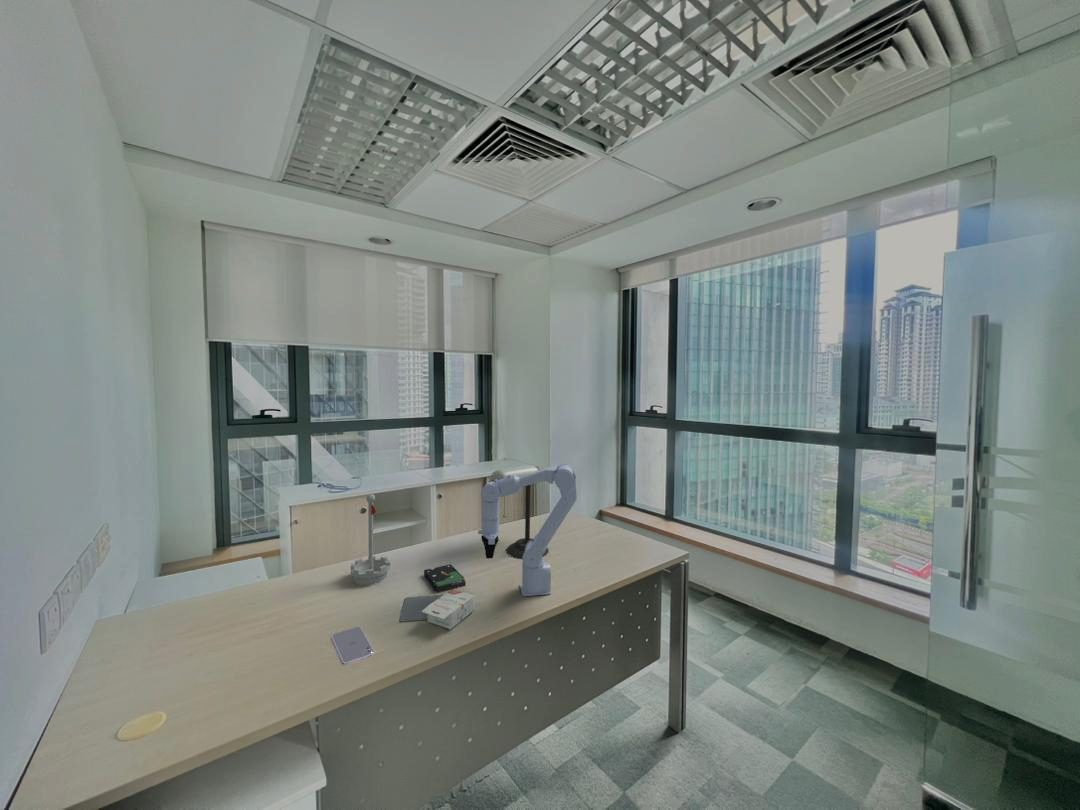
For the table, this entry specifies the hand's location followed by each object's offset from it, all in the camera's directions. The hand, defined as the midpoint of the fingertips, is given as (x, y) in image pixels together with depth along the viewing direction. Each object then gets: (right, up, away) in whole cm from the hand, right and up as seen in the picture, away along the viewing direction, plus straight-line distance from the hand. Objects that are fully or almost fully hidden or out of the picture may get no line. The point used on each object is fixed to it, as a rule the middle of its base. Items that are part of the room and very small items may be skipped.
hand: (489, 557), depth 144 cm
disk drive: (-16, -11, +5) cm, 20 cm away
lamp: (+10, -9, +36) cm, 38 cm away
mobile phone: (-32, -12, -32) cm, 47 cm away
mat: (-17, -11, -13) cm, 24 cm away
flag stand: (-43, -10, +6) cm, 44 cm away
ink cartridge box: (-6, -8, -13) cm, 17 cm away
